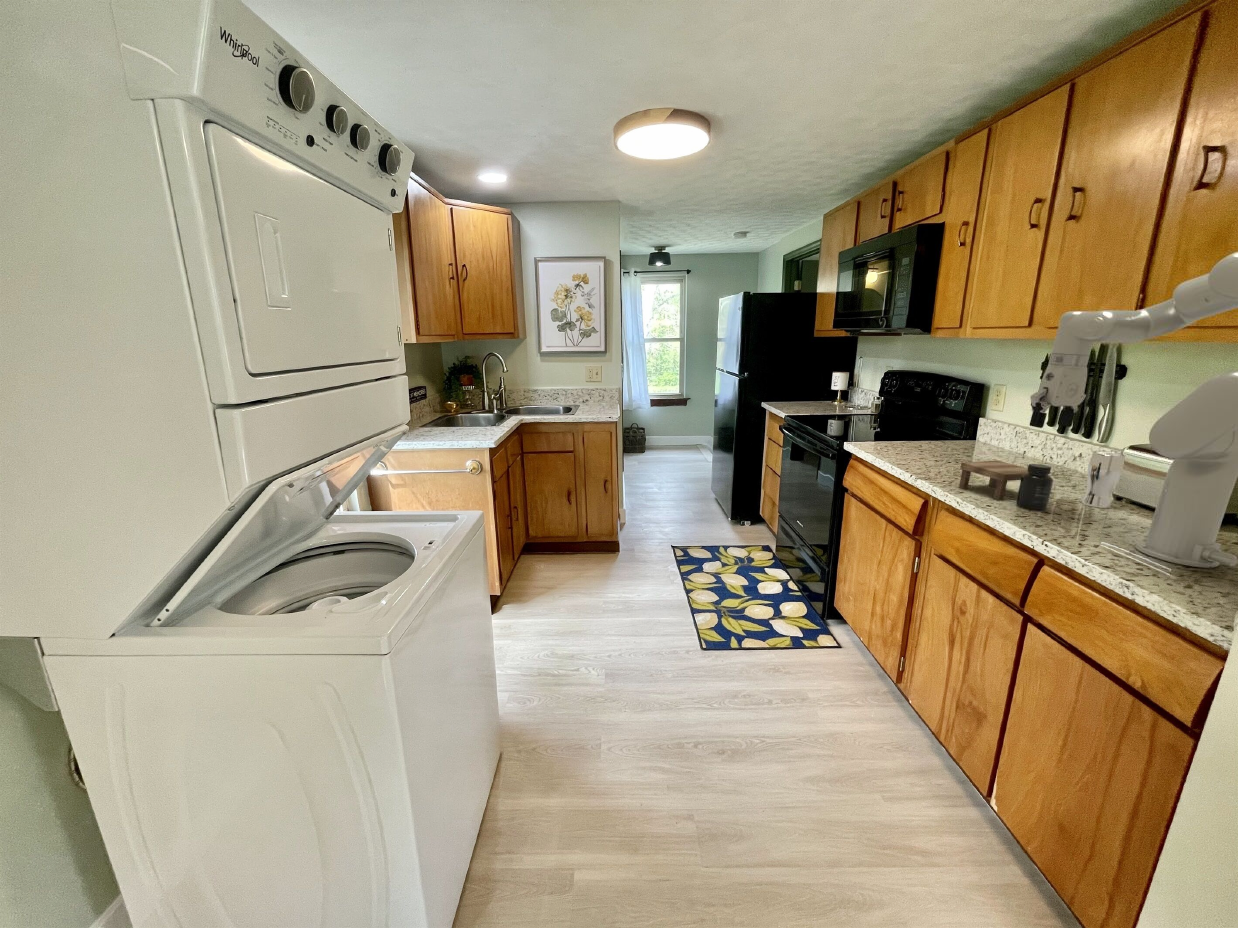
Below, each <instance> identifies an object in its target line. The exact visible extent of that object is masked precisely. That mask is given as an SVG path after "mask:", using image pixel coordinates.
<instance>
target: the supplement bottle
mask: <svg viewBox="0 0 1238 928" xmlns="http://www.w3.org/2000/svg"><path fill="white" fill-rule="evenodd" d="M1027 468H1028V469H1027V471H1028V473H1025V474H1023V475H1022V477H1021V480H1019V482H1020V483H1019V487H1018V492H1017V497H1016V502H1015V504H1016V506H1017V507H1019V508H1022V509H1026V510H1030V511H1039V512H1040V511H1046V510H1047V509H1048V506H1049V501H1050V497H1051V494H1052V493H1051V492H1052V488H1053V484H1054V480H1053V478H1052V476H1050V474H1051V470H1052V466H1049V465H1046V464H1040V463H1029V464H1028V466H1027Z"/></svg>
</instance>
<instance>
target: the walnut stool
mask: <svg viewBox="0 0 1238 928" xmlns="http://www.w3.org/2000/svg"><path fill="white" fill-rule="evenodd" d="M1027 469H1028V467H1026V466H1021V465H1017V464H1014V463H1013V464H1012V463H1009V462H1004V461H1001V460H982V461H981V460H979V461H964V462H961V463H960V470H961V474H960V480H959V486H958V489H959V488H960V489H963V490H965V489H967V490H968V488H969V482H970V478H971V473H974V474H977V475H981V476H984V477H988V478H989V481H988V486H990V487H994V488H995V491H994V495H993V500H996V501H999V502H1000V501H1004V497H1005V493H1006V488H1007V486H1008V485H1007V483H1008V482H1011V481H1021V477H1022V475H1023V474H1025V473H1028V471H1027Z"/></svg>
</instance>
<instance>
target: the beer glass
mask: <svg viewBox="0 0 1238 928" xmlns="http://www.w3.org/2000/svg"><path fill="white" fill-rule="evenodd" d="M1125 459H1126V455H1125V454H1123V453H1121V452H1120V453H1119V452H1113V451H1105V450H1104V451H1103V450H1094V451H1092V455H1091V457H1090V459H1089V463H1088V467H1087V471H1086V472H1087V473H1086V490H1085V494H1084V495H1083V497H1082V498H1081V502H1080V503H1082V504H1083V505H1086V506H1088V507H1089V506H1090V507H1092V508H1093V507H1094V508H1099V509H1108V508H1109V509H1110V508H1111V504H1112V503H1111V498H1112V494H1113V492H1114V490H1115V487H1116V486H1117V484H1118V482H1119V480H1120V478H1121V475H1122V473H1123V470H1124V466H1125V465H1124V464H1125Z"/></svg>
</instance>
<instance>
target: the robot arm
mask: <svg viewBox="0 0 1238 928" xmlns="http://www.w3.org/2000/svg"><path fill="white" fill-rule="evenodd" d="M1236 309H1238V251H1235V252H1232V253H1230V254H1229V255H1227V256H1225V257H1224V258H1222V259H1220V260H1219V261H1218V262H1217V263H1216V264H1215V265H1214V266H1213V267H1212V269H1211V270H1210V272H1208V273H1205V274H1203V275H1199V276H1198V277H1195V278H1192V279H1189V280H1186V281H1183V282H1181V283H1180V284H1178V285H1177V286H1176V288H1175V289H1174V290H1173V293H1172V298H1169V299H1167V300H1165V301H1162V302H1160V303H1157V304H1154V305H1152V306H1148V307H1145V308H1142V309H1137V310H1124V309H1123V310H1122V309H1121V310H1120V309H1119V310H1117V309H1116V310H1115V309H1114V310H1113V309H1108V310H1107V309H1106V310H1105V309H1104V310H1097V311H1096V310H1095V311H1089V310H1088V311H1085V310H1084V311H1083V310H1079V311H1078V310H1076V311H1075V310H1072V311H1067V312H1064V313H1063V314H1061V317H1060V320H1059V322H1058V327H1057V330H1056V333H1055V338H1054V342H1053V346H1052V349H1051V353H1050V357H1049V360H1048V364H1047V366H1046V369H1045V371H1044V373H1043V376H1042V378H1041V381H1040V384H1039V387H1038V391H1036V392H1035V393H1033V394H1031V395H1030V396H1029V397H1030V406H1031V411H1032V414H1031V417H1030V421H1029V426H1030V427H1033V428H1039V429H1042V428H1044V425H1045V423H1046V418H1047V414H1048V413H1047V412H1046V411H1048V410H1049V408H1051V406H1053V407H1062V408H1063V409H1061V411H1060V414H1059V417H1058V421H1057V425H1058V426H1061V427H1067V428H1072V426H1073V422H1074V419H1075V416H1076V413H1077V412H1078V411H1079V408H1080V407H1081V406H1082V404H1083V402H1084V400H1085V398H1086V397H1087V394H1085V389H1086V384H1087V381H1088V380H1087V378H1088V367H1087V366H1088V363H1089V359H1090V357H1091V353H1092V352H1091V351H1092V350H1093V346H1094V343H1095V344H1097V343H1098V344H1099V343H1100V344H1116V343H1117V344H1132V343H1133V344H1134V343H1139V342H1142V341H1147V340H1150V339H1154V338H1158V337H1160V336H1165V335H1167V334H1171V333H1174V332H1176V331H1177V332H1178V331H1179V330H1181V329H1184V328H1186V327H1187V326H1190V325H1192V324H1194V323H1196V322H1197V321H1200V320H1202V319H1205V318H1209V317H1213V316H1215V315H1219V314H1222V313H1226V312H1229V311H1233V310H1236ZM1148 441H1149V446H1150V447H1151V448H1152V450H1153V451H1154V452H1155V453H1157V454H1159V455H1160V456H1162V457H1164V458H1168V459H1173V461H1172V462H1171V464H1170V466H1169V467H1168V470H1167V472H1166V475H1165V478H1164V481H1163V484H1162V488H1161V491H1160V494H1159V497H1158V501H1157V504H1156V507H1155V510H1154V514H1153V518H1152V521H1151V524H1150V527H1149V529H1148V530H1149V531H1148V533H1147V538H1144V539H1138V540H1136V541H1135V543H1134V548H1135V549H1136V550H1138V551H1139V552H1141V553H1143V554H1145V555H1148V556H1149V557H1153V558H1155V559H1158V560H1161V561H1165V562H1170V563H1173V564H1178V565H1182V566H1183V565H1184V566H1187V567H1193V568H1194V567H1196V568H1208V569H1209V568H1210V567H1211V568H1217V567H1218V566H1219V565H1220V564H1221V565H1225V566H1228V567H1234V566H1236V564H1237V563H1238V558H1237V555H1235V554H1231V553H1229V552H1224V551H1222V550H1221V546H1222V544H1221V543H1218V542H1216V540H1217V537H1218V533H1219V532H1220V529H1221V525H1222V521H1223V519H1224V516H1225V514H1226V510H1227V507H1228V504H1229V501H1230V498H1231V496H1232V493H1233V490H1234V487H1235V485H1236V483H1237V479H1238V369H1234V370H1233V369H1232V370H1229V371H1226V372H1223V373H1220V374H1218V375H1216V376H1214V377H1212V378H1210V379H1208V380H1207V381H1206V382H1204V383H1202V384H1201V385H1200V386H1198V387H1197V388H1196V389H1195V390H1193V391H1192V392H1191V393H1190V394H1188V395H1187V396H1186V397H1184V398H1183V399H1182V400H1181V401H1180V402H1178V403H1177V404H1175V406H1173V407H1172V408H1171V409H1169V410H1168V411H1167V412H1165V413H1164V414H1163V415H1161V417H1159V418H1158V419H1157V420H1156V421H1155V423H1154V424H1153V426H1152V427H1151V428H1150V430H1149V434H1148Z"/></svg>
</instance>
